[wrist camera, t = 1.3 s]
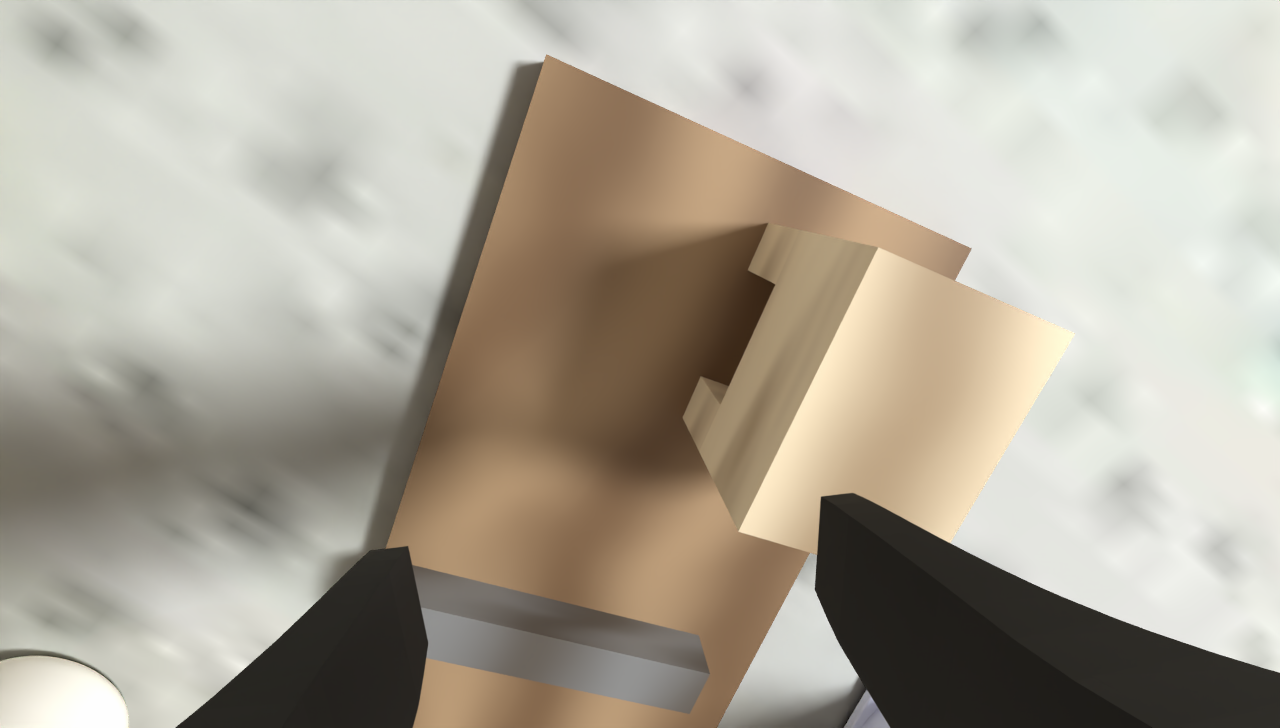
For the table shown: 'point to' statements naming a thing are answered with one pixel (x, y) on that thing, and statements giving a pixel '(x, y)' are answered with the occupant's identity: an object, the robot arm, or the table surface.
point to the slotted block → (867, 390)
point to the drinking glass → (57, 695)
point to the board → (606, 422)
